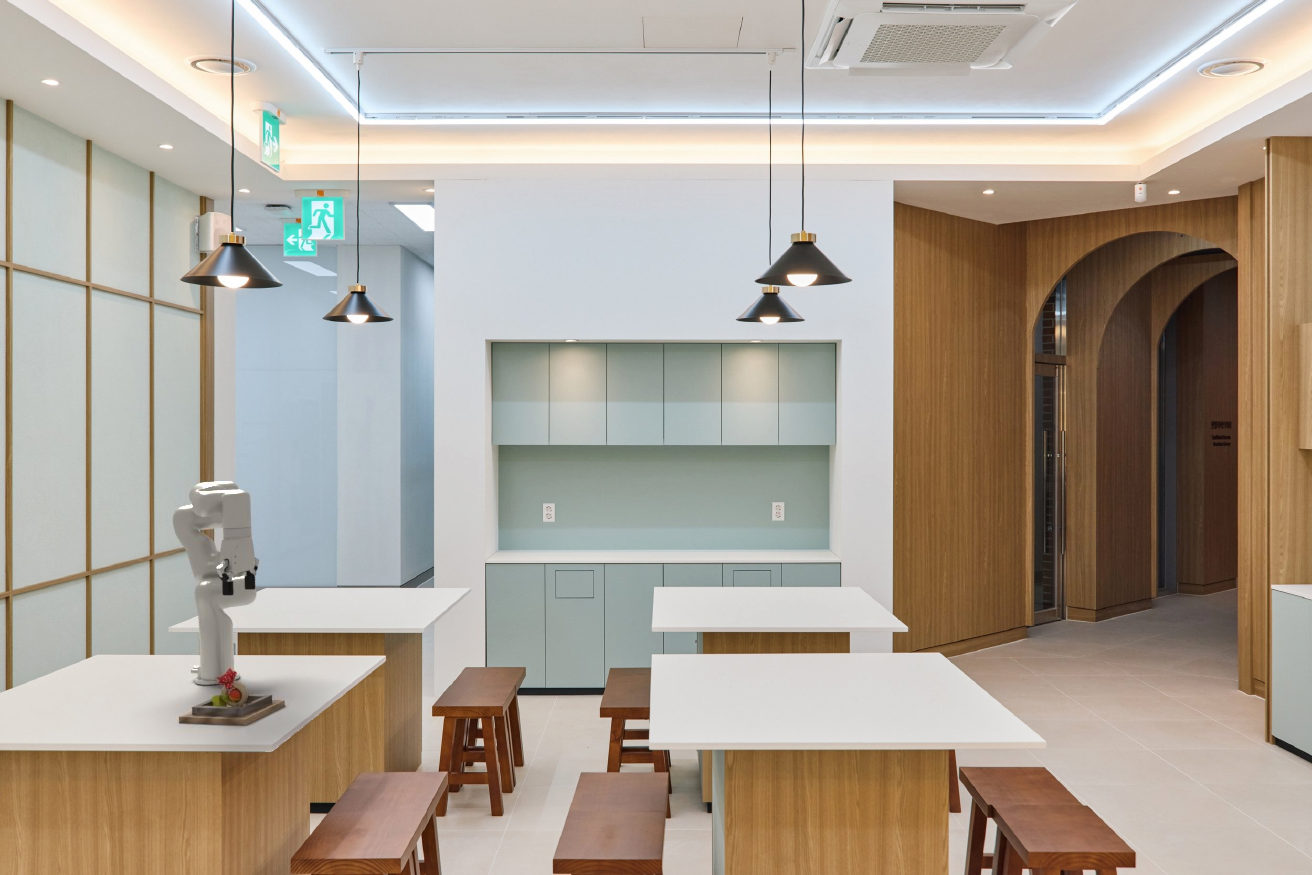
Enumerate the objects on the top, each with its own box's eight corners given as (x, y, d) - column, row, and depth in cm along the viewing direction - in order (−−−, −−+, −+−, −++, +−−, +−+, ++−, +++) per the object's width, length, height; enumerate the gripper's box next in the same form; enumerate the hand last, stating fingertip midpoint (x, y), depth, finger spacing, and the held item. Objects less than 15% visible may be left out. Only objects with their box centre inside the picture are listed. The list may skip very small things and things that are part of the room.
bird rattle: (245, 712, 249) (215, 700, 249) (260, 675, 249) (229, 662, 248) (235, 719, 242) (203, 707, 242) (250, 681, 242) (219, 669, 242)
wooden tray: (178, 722, 240) (178, 709, 240) (222, 703, 256) (221, 690, 256) (245, 724, 235) (244, 711, 235) (284, 705, 252) (284, 692, 252)
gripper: (245, 530, 272) (247, 587, 273) (205, 537, 256) (207, 597, 256) (267, 530, 271) (269, 587, 271) (228, 537, 254) (230, 597, 254)
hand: (239, 592), depth 263 cm, fingers open, 9 cm apart
